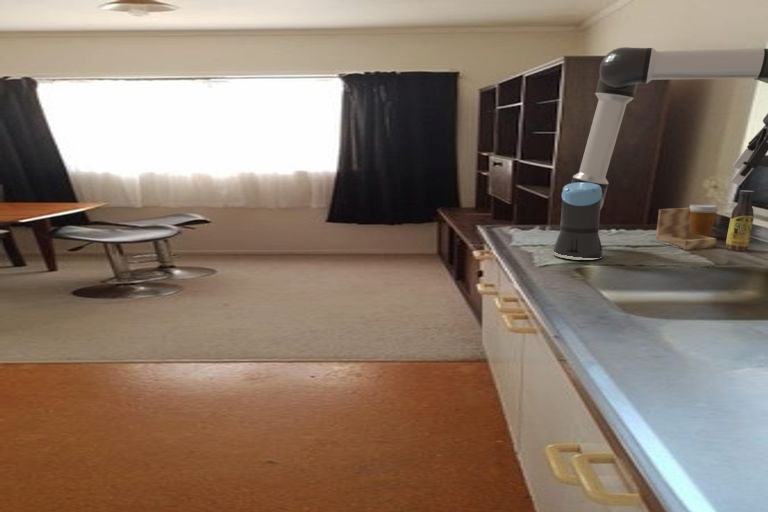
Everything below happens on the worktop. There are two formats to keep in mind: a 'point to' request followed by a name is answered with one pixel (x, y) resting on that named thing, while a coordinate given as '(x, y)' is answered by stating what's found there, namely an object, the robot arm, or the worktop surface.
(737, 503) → the worktop surface
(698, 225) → the glass of beer
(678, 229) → the open wooden box
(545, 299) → the worktop surface
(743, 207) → the sauce bottle
